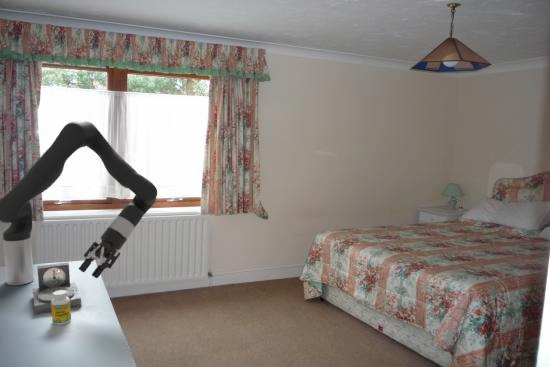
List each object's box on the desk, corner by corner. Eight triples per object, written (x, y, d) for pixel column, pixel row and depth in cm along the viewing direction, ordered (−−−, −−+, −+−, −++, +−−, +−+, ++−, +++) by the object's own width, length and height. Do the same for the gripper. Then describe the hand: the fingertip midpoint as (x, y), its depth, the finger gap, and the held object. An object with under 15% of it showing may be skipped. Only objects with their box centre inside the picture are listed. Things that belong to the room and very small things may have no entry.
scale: (33, 296, 168) (30, 267, 166) (75, 290, 174) (73, 261, 173) (35, 314, 153) (32, 282, 151) (81, 306, 160) (79, 275, 158)
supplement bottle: (69, 316, 152) (67, 287, 150) (72, 322, 147) (70, 293, 146) (51, 320, 149) (49, 291, 147) (53, 326, 144) (51, 296, 143)
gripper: (99, 223, 162) (68, 263, 155) (122, 230, 153) (90, 272, 146) (114, 235, 167) (85, 274, 160) (137, 242, 158) (106, 284, 151)
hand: (87, 273), depth 153 cm, fingers open, 8 cm apart
